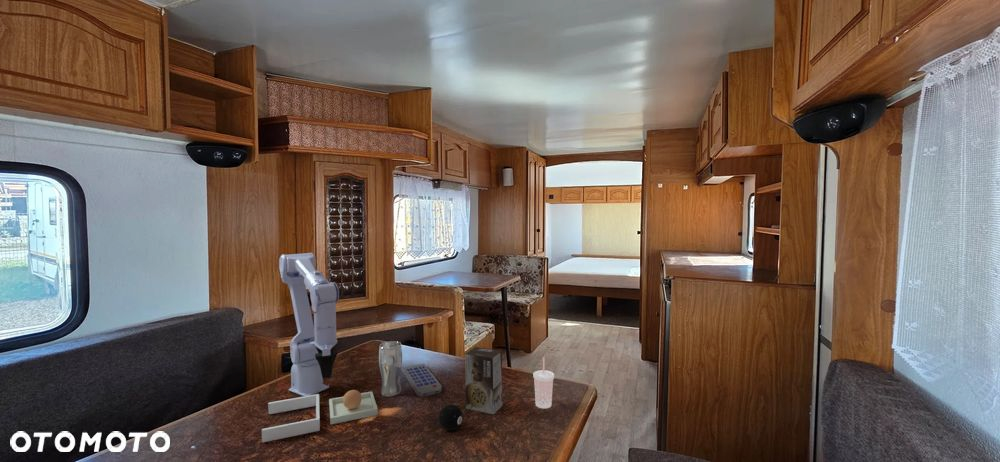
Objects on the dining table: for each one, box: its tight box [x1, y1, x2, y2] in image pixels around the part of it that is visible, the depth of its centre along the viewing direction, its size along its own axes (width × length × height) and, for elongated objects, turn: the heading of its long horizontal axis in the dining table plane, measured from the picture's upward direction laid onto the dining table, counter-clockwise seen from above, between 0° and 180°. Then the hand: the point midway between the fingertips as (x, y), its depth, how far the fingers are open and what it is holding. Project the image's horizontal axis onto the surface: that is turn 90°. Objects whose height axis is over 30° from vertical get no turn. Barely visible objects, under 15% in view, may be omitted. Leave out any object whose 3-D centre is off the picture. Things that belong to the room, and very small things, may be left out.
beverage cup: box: [532, 356, 555, 409], centre depth 116 cm, size 6×6×14 cm
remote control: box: [401, 363, 443, 397], centre depth 133 cm, size 8×23×2 cm, turn 26°
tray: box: [328, 390, 379, 425], centre depth 113 cm, size 12×12×2 cm
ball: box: [342, 389, 362, 409], centre depth 113 cm, size 5×5×5 cm
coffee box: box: [464, 346, 503, 415], centre depth 115 cm, size 9×6×16 cm
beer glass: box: [378, 340, 403, 398], centre depth 124 cm, size 7×7×15 cm
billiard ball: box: [438, 404, 464, 431], centre depth 103 cm, size 6×6×6 cm
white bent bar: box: [261, 393, 321, 444], centre depth 107 cm, size 13×16×3 cm
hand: (326, 372), depth 115 cm, fingers open, 7 cm apart
